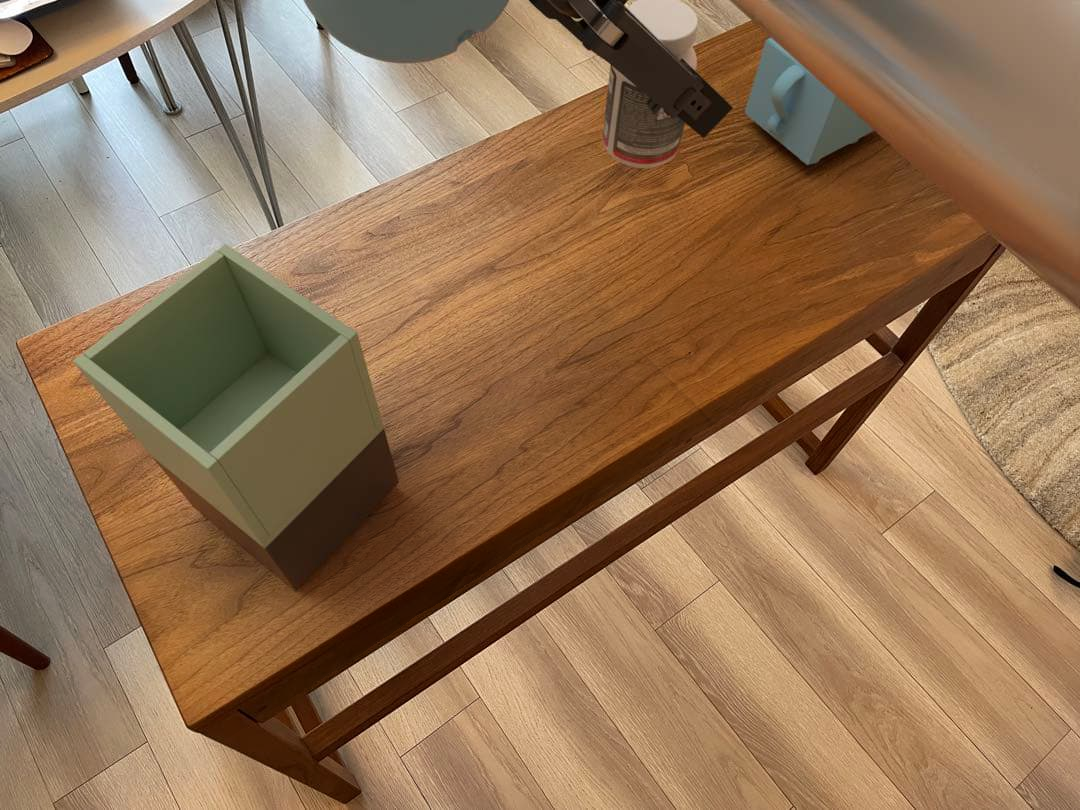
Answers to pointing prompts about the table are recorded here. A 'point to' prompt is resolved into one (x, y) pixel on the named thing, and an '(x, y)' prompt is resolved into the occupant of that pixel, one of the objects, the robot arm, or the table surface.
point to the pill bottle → (627, 116)
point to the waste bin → (251, 410)
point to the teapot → (800, 108)
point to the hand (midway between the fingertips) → (690, 92)
